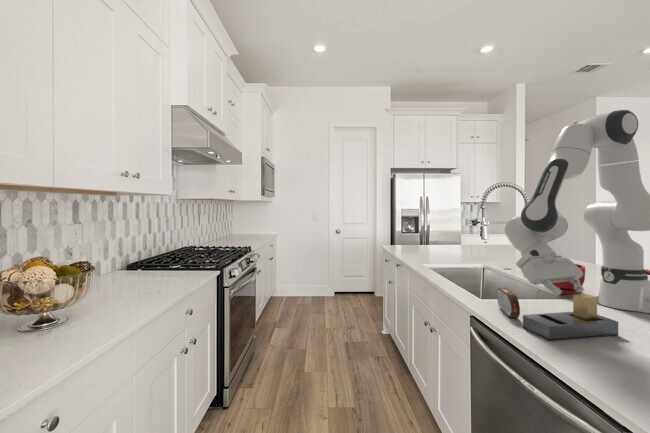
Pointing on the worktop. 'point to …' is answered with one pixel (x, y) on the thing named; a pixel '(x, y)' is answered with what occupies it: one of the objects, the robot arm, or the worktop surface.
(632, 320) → the worktop surface
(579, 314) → the tan rectangular block
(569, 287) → the plant pot
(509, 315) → the tin
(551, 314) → the block
